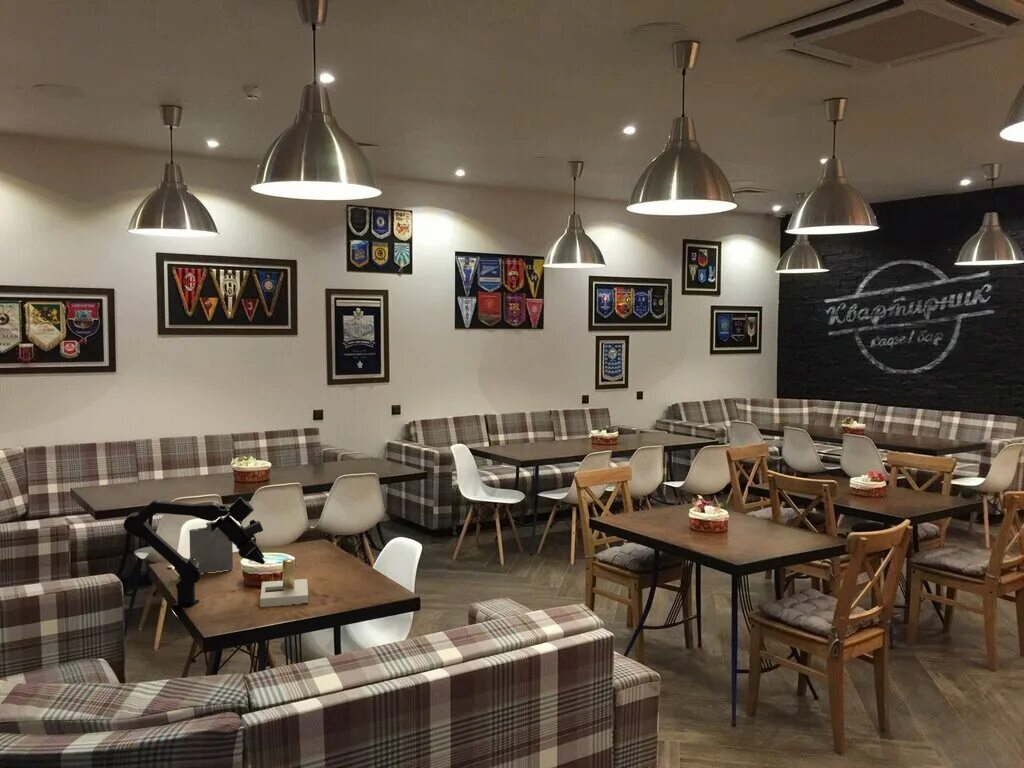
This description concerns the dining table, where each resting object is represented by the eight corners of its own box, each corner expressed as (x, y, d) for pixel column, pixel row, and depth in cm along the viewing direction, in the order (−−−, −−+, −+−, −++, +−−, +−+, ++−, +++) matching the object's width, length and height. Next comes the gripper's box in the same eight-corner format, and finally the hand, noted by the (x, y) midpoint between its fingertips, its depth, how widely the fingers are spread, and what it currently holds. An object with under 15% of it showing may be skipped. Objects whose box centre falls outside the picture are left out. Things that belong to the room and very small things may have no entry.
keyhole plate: (260, 607, 286) (260, 598, 286) (262, 590, 306) (262, 582, 305) (308, 603, 290) (308, 595, 290) (307, 586, 310) (307, 578, 309)
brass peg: (291, 598, 295) (290, 562, 295) (279, 597, 297) (278, 561, 296) (298, 594, 300) (297, 559, 299) (286, 593, 301) (285, 558, 300)
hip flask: (232, 568, 333) (231, 519, 332) (233, 571, 330) (232, 521, 329) (190, 573, 327) (189, 523, 326) (190, 576, 323) (189, 525, 322)
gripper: (250, 518, 285) (282, 549, 289) (249, 509, 303) (279, 539, 307) (225, 542, 283) (257, 573, 287) (225, 531, 301) (256, 561, 304)
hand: (263, 560), depth 296 cm, fingers open, 9 cm apart
